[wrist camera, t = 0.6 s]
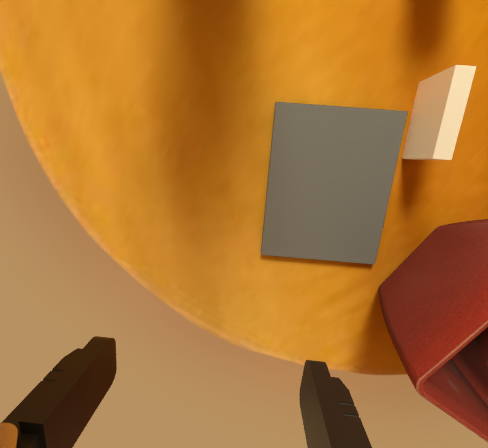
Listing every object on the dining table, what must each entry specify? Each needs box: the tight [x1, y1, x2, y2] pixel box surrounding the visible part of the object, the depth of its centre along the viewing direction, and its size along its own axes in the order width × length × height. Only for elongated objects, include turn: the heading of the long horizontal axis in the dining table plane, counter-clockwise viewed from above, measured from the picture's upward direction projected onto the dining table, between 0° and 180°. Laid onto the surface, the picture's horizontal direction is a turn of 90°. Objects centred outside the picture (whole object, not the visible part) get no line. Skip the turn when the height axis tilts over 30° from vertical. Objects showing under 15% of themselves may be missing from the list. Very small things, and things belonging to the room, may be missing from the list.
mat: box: [261, 102, 408, 264], centre depth 34 cm, size 20×16×1 cm
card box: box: [402, 65, 476, 160], centre depth 29 cm, size 9×2×6 cm, turn 176°
